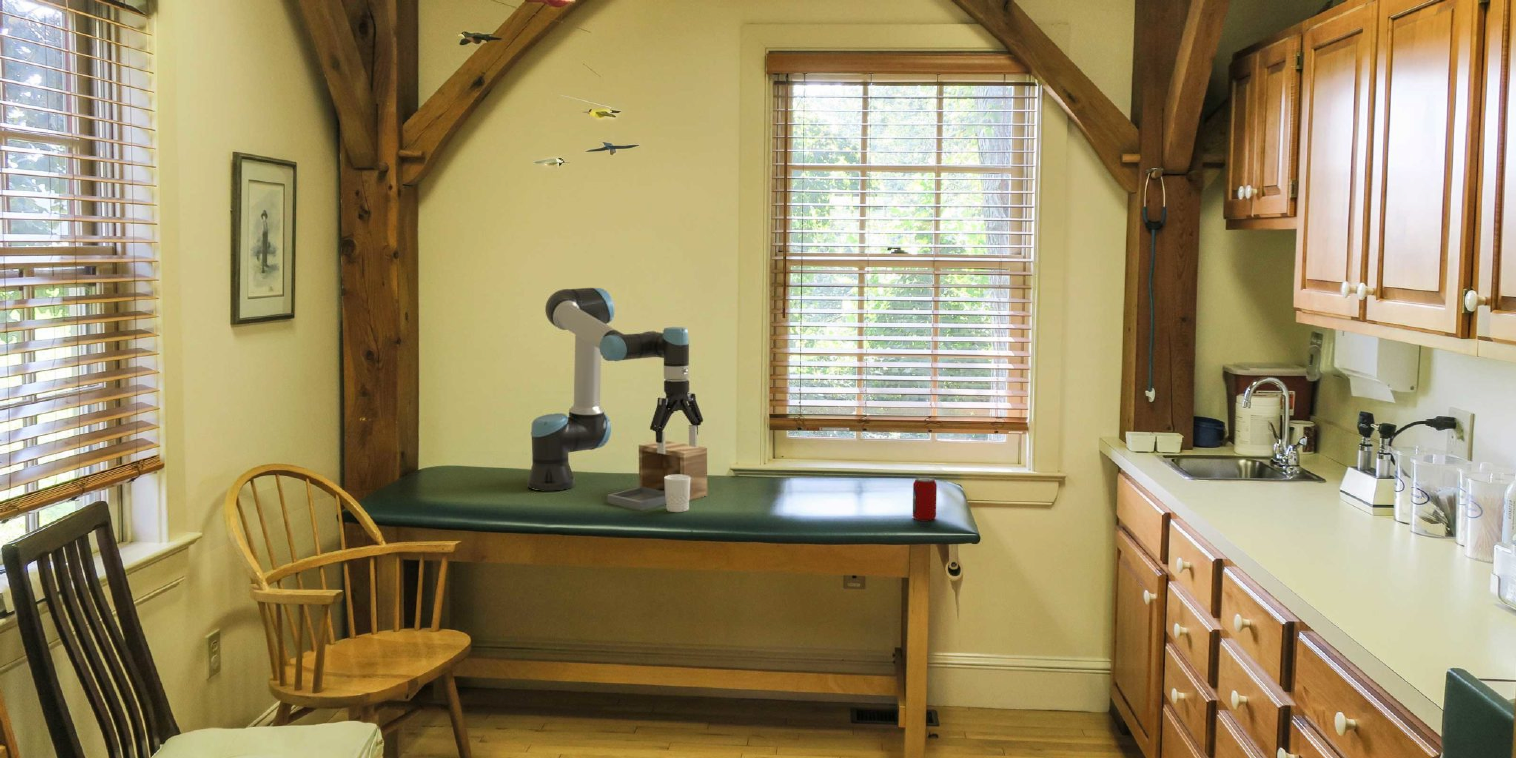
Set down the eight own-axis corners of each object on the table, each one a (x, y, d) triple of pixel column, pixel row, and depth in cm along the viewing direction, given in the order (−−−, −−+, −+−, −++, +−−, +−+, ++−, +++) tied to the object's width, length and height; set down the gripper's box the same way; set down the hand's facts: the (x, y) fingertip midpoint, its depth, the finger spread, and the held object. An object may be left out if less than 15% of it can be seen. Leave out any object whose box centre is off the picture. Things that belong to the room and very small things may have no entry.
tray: (607, 502, 356) (607, 494, 356) (642, 494, 368) (642, 486, 367) (641, 510, 347) (640, 502, 346) (676, 501, 358) (676, 493, 358)
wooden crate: (639, 492, 370) (638, 444, 368) (662, 486, 378) (662, 440, 376) (684, 502, 357) (683, 452, 355) (707, 496, 365) (707, 447, 363)
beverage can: (919, 514, 342) (919, 475, 340) (939, 518, 338) (940, 477, 336) (908, 519, 336) (909, 479, 335) (929, 523, 332) (930, 482, 331)
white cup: (686, 513, 343) (686, 480, 342) (661, 512, 345) (660, 479, 344) (693, 507, 351) (693, 474, 350) (668, 505, 353) (668, 473, 351)
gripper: (655, 385, 331) (656, 457, 334) (714, 376, 350) (714, 445, 353) (637, 382, 336) (638, 454, 339) (696, 374, 355) (696, 442, 357)
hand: (677, 449), depth 346 cm, fingers open, 13 cm apart
